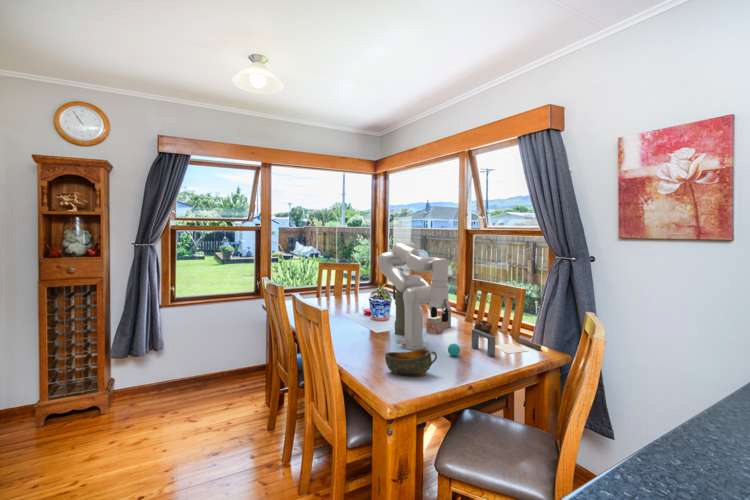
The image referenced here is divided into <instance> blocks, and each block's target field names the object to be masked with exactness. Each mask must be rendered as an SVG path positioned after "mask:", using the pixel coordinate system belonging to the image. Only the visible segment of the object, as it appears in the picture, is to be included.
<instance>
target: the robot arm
mask: <svg viewBox="0 0 750 500" xmlns="http://www.w3.org/2000/svg"><path fill="white" fill-rule="evenodd" d="M377 265H378V268H379V271H380V272H381V273H382V275H383V276H384V277H386V278H387V279H388V280H389V281H390V283H391V284H392V285H394V286H395V289H396V290H397V289H398V290H399V291H400V292H402V293H403V300H404V306H405V335H404V337H402V338H401V339H396V340H395V344H396V345H399V344H400V345H401V347H402V348H403V349H406V350H409V351H416V350H423V349H425V348H426V346H427V345H426V343H424V341H423V335H424V330H423V329H424V313H423V310H422V308H421V307H420V306H421V305H425V304H426V305H427V304H429V306H430V307H429V308H430V316H431V317H437V309H442V312H443V313H442V322H447V321H448V313H449V311H450V309H451V307H452V305H451V304H450V302H449V290H448V285H449V282H448V281H449V279H448V278H449V274H448V272H449V261H448V259H447V258H445V257H437V256H420V253H419V250H418V246H417V245H416V243H414V242H396V243H394V244H393V246H392V248H391V251H387V252H383V253H381V254H379V255H378V257H377ZM403 266H407V268H409V269H410V270H411V271H414V272H416V273H431V285H430V284H429V283H428V282H427V281H426V280H425V279H424V278H423V277H422V276H421V275H418V274H405V273H404V272H403V271H402V270H401V269H400V268H398V267H403ZM444 309H445V310H444Z"/></svg>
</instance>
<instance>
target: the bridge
mask: <svg viewBox="0 0 750 500" xmlns="http://www.w3.org/2000/svg"><path fill="white" fill-rule="evenodd" d="M480 337H483V338H484V339H487V350H486V351H487V354H486V356H487V357H489V358H495V357H496V348H495V345H496V336H495V335H492V334H490V333H489V334H487V333H485V332H482V331H480V330H477V329H474V328H473V329H471V349H473V350H479V346H480V345H479V343H480V341H479V340H480Z"/></svg>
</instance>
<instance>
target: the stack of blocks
mask: <svg viewBox="0 0 750 500" xmlns="http://www.w3.org/2000/svg"><path fill="white" fill-rule="evenodd" d="M436 309H437V317H431V315H430V316H428V317H426V323H425V324H426V325H425V326H426V331H425V332H426V333H427V334H433V335H436V334H439V333H441V332H443V331H446V330H448V329H450V328H451V327H452V319H451V318H452V308H450V311H449V313H448V321H447V322H442V313H443V312H442V309H438V308H436ZM444 310H445V309H444Z"/></svg>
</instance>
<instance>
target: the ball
mask: <svg viewBox="0 0 750 500" xmlns="http://www.w3.org/2000/svg"><path fill="white" fill-rule="evenodd" d="M447 352H448V354H449V355H450V356H451V357H457V356H459V355H460V353H461V348H460V345H458V344H457V343H450V344H449V345H448V347H447Z"/></svg>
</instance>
